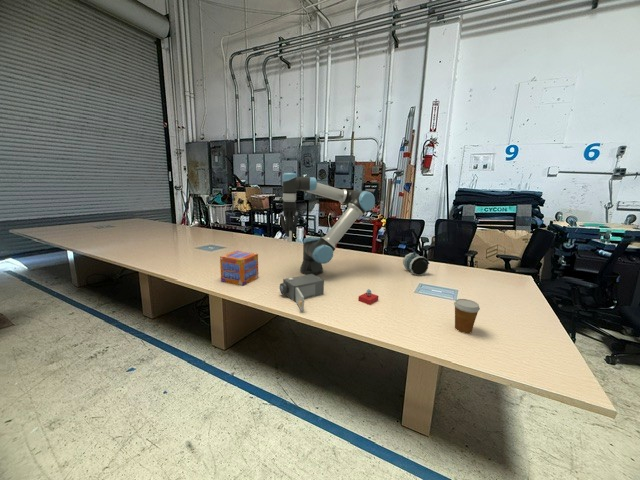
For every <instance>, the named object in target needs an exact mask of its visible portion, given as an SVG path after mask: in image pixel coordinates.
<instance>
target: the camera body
mask: <svg viewBox="0 0 640 480" xmlns="http://www.w3.org/2000/svg"><path fill="white" fill-rule="evenodd" d="M295 287H298V288H299V290H300V292H301V293H302V295H303V296H304V300H305V299H310V298H314V297H318V296H322V295H324V290H325V279H323V278H320V277H319V276H317V275H313V274H308V275H307V274H303V275H299V276H293V277H287V278H283V279H282V283H280V284H279V291H280V293H281V295H285V296H286V297H287V298H289V299H290V300H291V301H293V302H296V301H295Z"/></svg>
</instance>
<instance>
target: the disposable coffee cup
mask: <svg viewBox="0 0 640 480" xmlns="http://www.w3.org/2000/svg"><path fill="white" fill-rule="evenodd" d="M453 306H454V329H455V328H456V329H457V330H459V331H461V332H460V333H462V332H465V333H464V334H471V333H472V331H473V328H474V325H475V322H476V319H477V316H478V313H479V311H480V310H481V307H480V305H479V303H478V302H476V301H473V300H472V299H468V298H457V299H456V300H455V301H454V303H453ZM456 329H455V330H456ZM457 330H456V331H457ZM459 331H458V332H459ZM470 332H471V333H470Z"/></svg>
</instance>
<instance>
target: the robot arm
mask: <svg viewBox="0 0 640 480" xmlns="http://www.w3.org/2000/svg"><path fill="white" fill-rule="evenodd" d="M297 191H302V192H305V193H309V194H312V195H313V194H314V195H316V196H320V197H324V198H328V199H331V200H333V201H338V202H339V204H343V205H345V206H348V207H347V209H345V211H344V212H343V213H342V215H341V216H340V217H339V218H338V219H337V221H336V222H335V223H334V224H333V226H332V227H331V228H330V229H329V230H328V232H327V233H326V234H325V235H324V236H320V237H317V236H316V237H315V236H314V237H313V236H312V237H305V238H304V239H303V243H302V244H303V245H302V253H303V254H302V262H301V265H300V269H299V271H300V273H301V274H303V275H308V274H313V275H315V276H317V275H318V276H319V275H321V274H322V273H323V272H324V268H323V264H327V263H329V262H331V260H332V259H333V257H334V251H335V250H336V246H337V244H338V243H339V241H340V240H341V239H342V237H344V236H345V234H346V233H347V232H348V230H349V229H350V228H351V227H352V225H353V224H354V223H355V221H357V219H359V217H362V216H364V215H365V213H366V212H369V211H371V210H372V209H374V207H375V204H376V201H375V200H376V198H375V196H374V194H373V193H372V192H370V191H367V190H353V189H346V188H343V189H340V188H337V187H333V186H331V185H327V184H323V183H321V182H317V178H316V177H312V176H297V174H296V173H295V172H284V173H283V174H282V212H281V213H278V217H279V218H280V223H281V227H282V230H283V231H285V237H286V242H287V243H292V241H293V235H294V231H295V230H297V226H298V221H299V217H300V216H301V213H300V212H298V211H297V202H296V201H297Z"/></svg>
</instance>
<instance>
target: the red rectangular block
mask: <svg viewBox="0 0 640 480" xmlns="http://www.w3.org/2000/svg"><path fill="white" fill-rule="evenodd" d="M379 297H380V296H379V295H377V294H374V293H372V290H371V289H367V290H366V292H364V293H363V294H361V295H358V302H361V303H364V304H366V305H369V306H370V305H372V304H375V303H376V302H378V301H379Z"/></svg>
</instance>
